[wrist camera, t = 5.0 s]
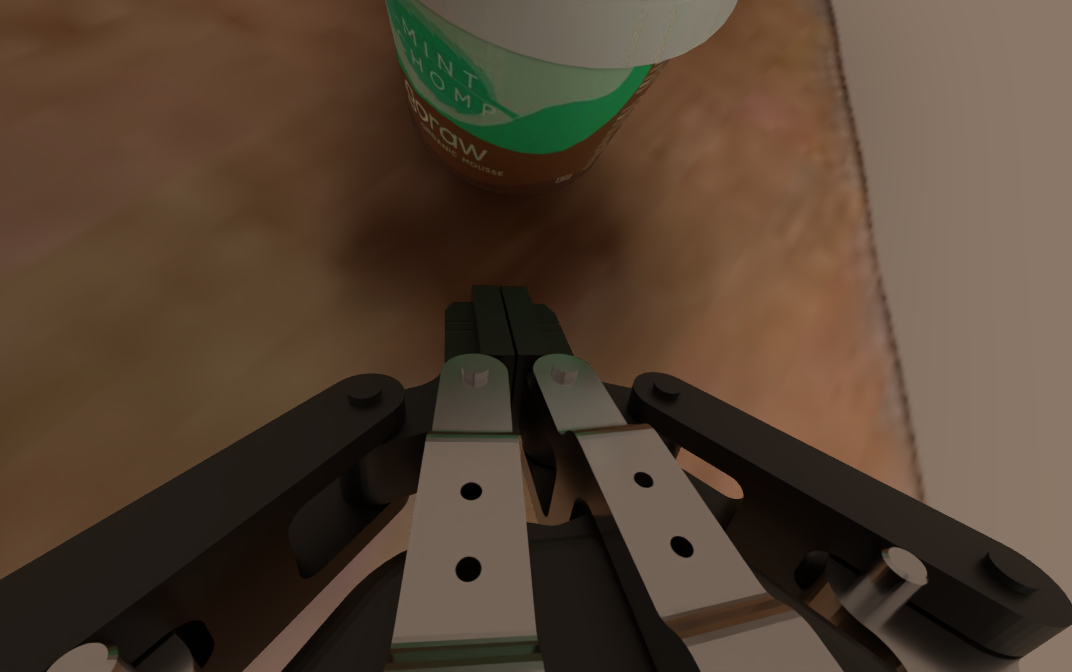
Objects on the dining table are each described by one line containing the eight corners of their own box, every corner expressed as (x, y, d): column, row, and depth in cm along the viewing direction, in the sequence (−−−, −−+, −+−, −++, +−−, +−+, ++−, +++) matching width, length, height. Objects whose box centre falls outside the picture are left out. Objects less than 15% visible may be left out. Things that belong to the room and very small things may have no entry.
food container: (315, 121, 18) (161, -261, 8) (398, 31, 19) (354, -363, 10) (569, 272, 18) (703, 87, 9) (625, 171, 20) (786, -71, 11)
